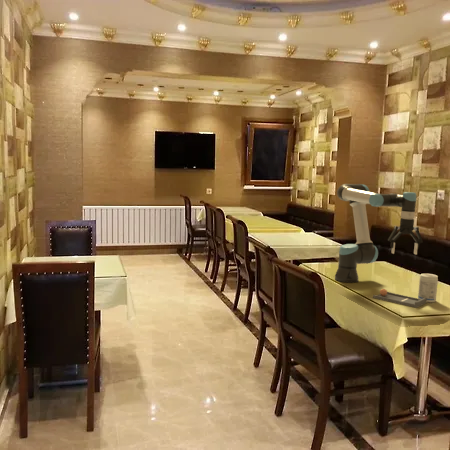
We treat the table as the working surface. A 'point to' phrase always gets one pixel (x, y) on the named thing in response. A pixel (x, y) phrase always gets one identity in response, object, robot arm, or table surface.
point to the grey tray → (401, 299)
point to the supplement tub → (428, 287)
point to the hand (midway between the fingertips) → (403, 253)
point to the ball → (383, 292)
